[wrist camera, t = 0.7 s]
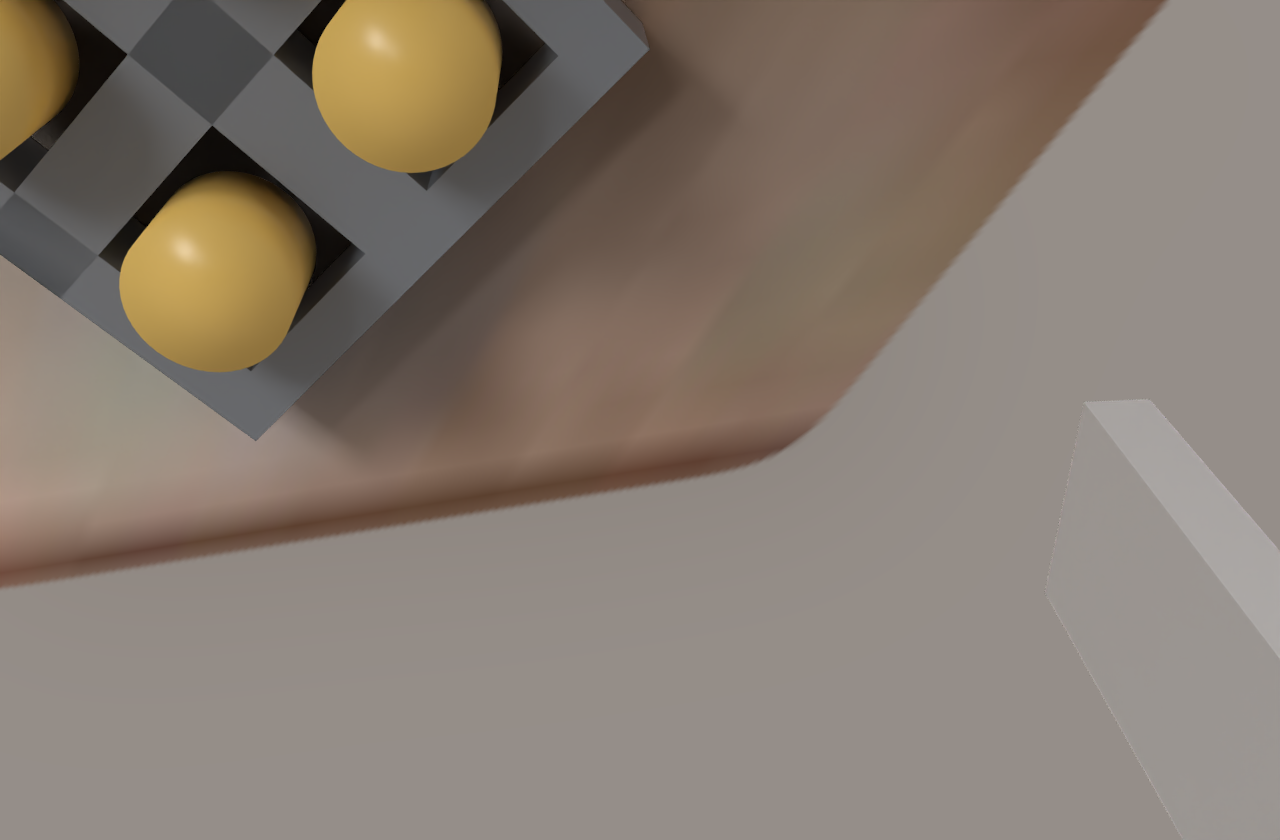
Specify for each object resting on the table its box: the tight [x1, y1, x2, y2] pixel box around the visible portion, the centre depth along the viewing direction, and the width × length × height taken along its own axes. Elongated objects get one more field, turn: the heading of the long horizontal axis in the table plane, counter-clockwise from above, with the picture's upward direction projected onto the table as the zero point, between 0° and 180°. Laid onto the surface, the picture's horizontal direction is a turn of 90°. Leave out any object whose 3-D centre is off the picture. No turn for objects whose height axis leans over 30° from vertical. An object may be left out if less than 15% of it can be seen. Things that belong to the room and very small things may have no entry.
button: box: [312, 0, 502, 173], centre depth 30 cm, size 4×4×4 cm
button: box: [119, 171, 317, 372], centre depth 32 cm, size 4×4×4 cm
